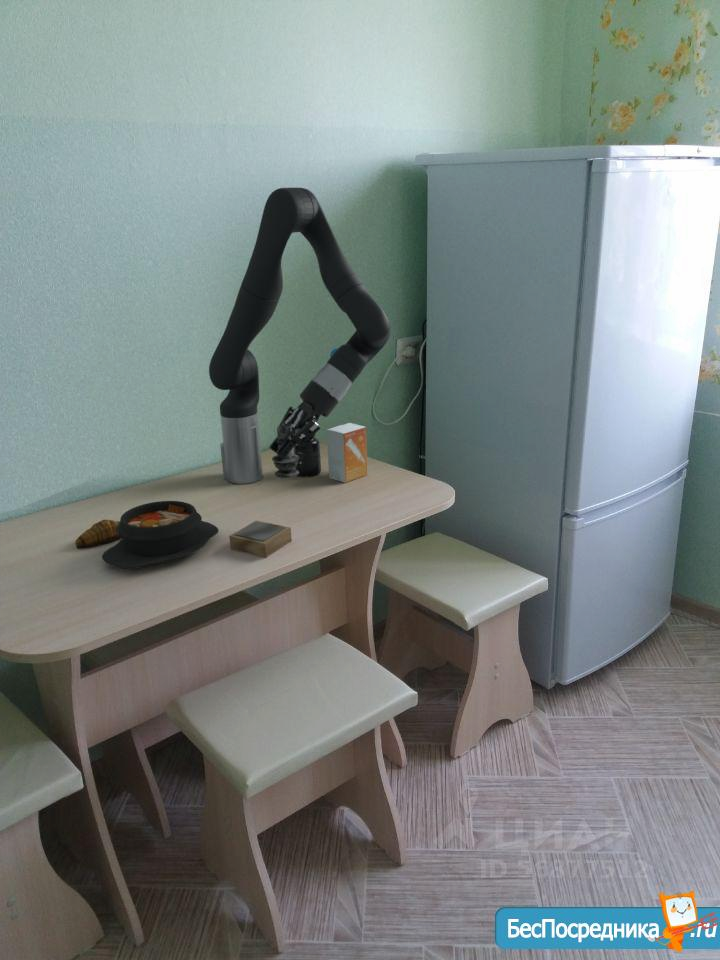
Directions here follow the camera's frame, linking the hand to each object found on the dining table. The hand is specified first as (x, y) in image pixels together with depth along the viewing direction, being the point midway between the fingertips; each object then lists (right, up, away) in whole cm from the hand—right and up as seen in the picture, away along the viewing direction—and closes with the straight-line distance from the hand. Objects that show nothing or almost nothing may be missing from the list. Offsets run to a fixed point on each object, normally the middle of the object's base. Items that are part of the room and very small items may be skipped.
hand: (276, 452), depth 167 cm
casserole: (-23, -21, -5) cm, 31 cm away
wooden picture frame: (-3, -19, -4) cm, 20 cm away
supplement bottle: (+4, -4, +38) cm, 38 cm away
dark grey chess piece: (+2, -5, +3) cm, 6 cm away
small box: (+15, -5, +34) cm, 38 cm away
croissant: (-37, -19, +2) cm, 41 cm away
